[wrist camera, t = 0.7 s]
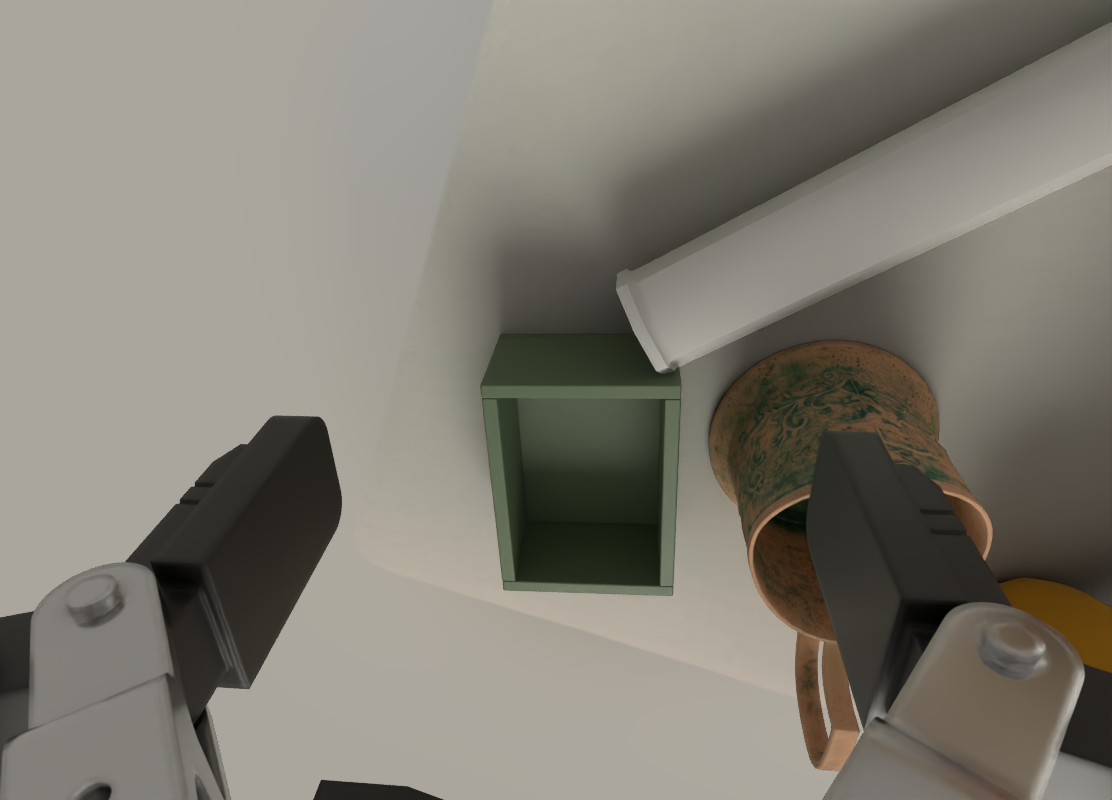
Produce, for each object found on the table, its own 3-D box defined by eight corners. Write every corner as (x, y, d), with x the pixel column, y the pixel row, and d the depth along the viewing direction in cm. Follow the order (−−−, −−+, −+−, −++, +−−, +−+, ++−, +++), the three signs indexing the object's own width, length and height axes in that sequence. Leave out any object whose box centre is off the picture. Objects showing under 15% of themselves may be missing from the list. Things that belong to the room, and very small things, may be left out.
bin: (500, 334, 37) (479, 385, 32) (675, 333, 36) (681, 385, 31) (517, 524, 43) (503, 591, 38) (668, 528, 42) (672, 596, 38)
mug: (687, 595, 45) (702, 779, 34) (722, 334, 36) (757, 475, 26) (880, 610, 44) (956, 804, 33) (964, 346, 35) (1102, 496, 25)
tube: (1300, -90, 23) (605, 275, 31) (1362, 65, 23) (661, 388, 31) (1198, -29, 28) (625, 272, 36) (1252, 98, 28) (672, 369, 36)
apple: (1048, 696, 46) (1182, 925, 34) (885, 655, 45) (966, 873, 34) (1162, 571, 40) (1364, 795, 29) (977, 523, 40) (1110, 731, 29)
